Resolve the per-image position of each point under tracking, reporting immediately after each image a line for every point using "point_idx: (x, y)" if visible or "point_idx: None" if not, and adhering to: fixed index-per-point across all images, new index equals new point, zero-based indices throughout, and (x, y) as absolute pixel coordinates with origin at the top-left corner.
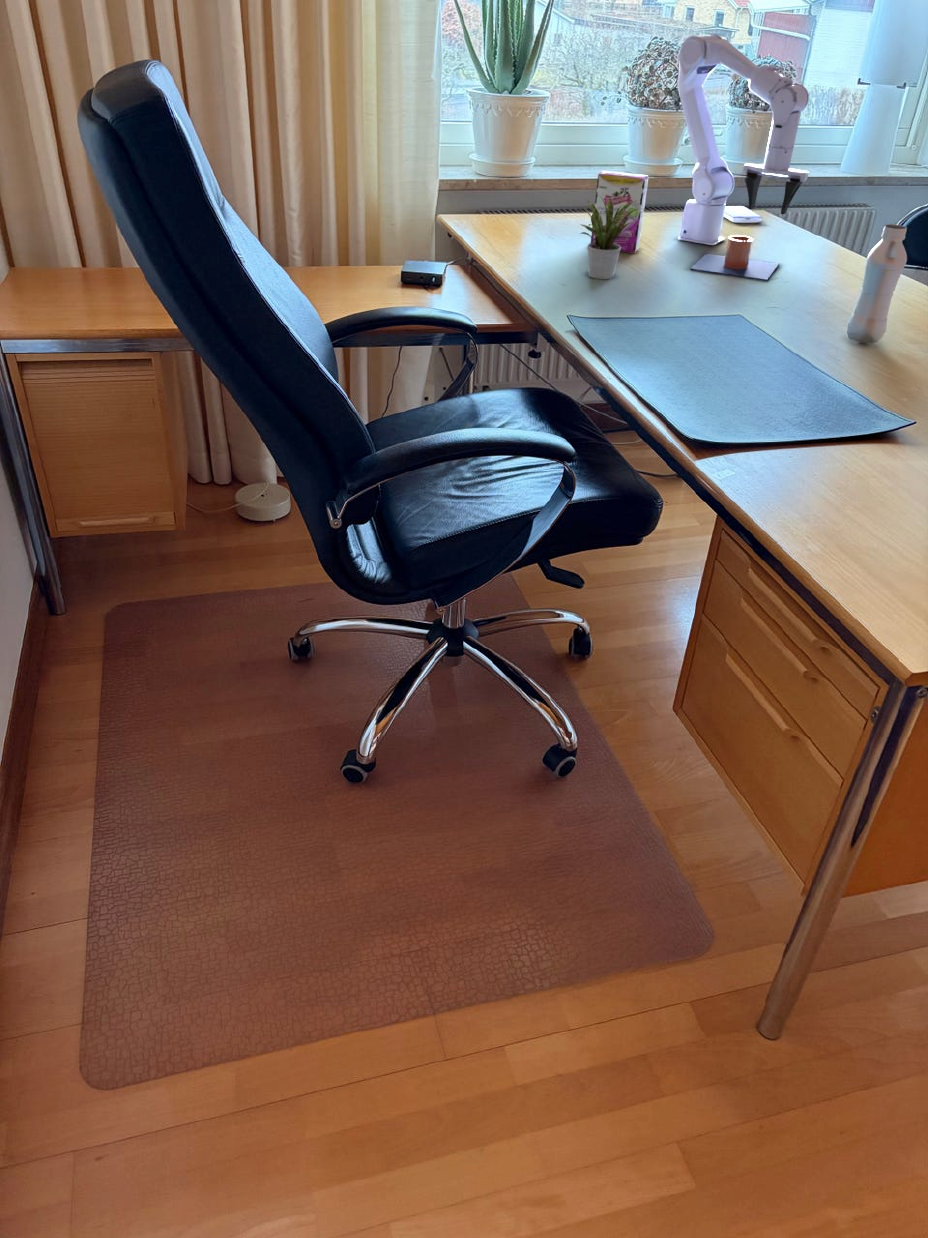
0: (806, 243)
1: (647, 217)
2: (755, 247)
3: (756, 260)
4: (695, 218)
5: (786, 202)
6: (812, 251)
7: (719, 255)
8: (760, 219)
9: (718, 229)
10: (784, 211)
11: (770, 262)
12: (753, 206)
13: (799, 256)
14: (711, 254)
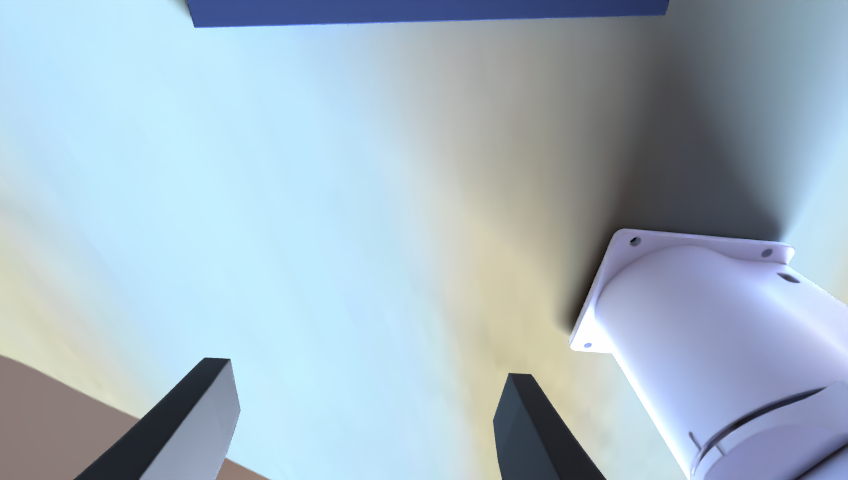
0: (277, 433)
1: None
2: (426, 304)
3: (340, 21)
4: (813, 321)
5: (108, 450)
6: None
7: (579, 10)
8: None
9: (633, 317)
10: (187, 380)
11: (249, 23)
12: (501, 417)
13: (205, 267)
14: (631, 7)
